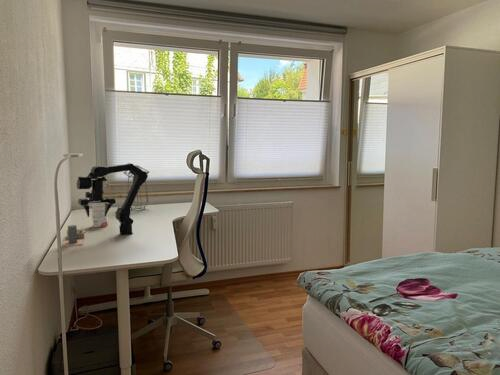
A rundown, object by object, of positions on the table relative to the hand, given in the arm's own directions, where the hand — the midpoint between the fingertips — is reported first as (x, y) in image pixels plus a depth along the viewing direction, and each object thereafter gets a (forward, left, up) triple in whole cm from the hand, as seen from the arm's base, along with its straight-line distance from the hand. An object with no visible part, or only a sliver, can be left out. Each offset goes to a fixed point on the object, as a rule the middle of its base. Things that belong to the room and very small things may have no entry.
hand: (96, 216), depth 208 cm
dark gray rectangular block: (+12, +7, -12) cm, 18 cm away
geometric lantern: (-30, -77, -13) cm, 84 cm away
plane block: (+11, -7, -13) cm, 19 cm away
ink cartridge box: (-2, -30, -13) cm, 33 cm away
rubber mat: (+12, +7, -13) cm, 19 cm away
